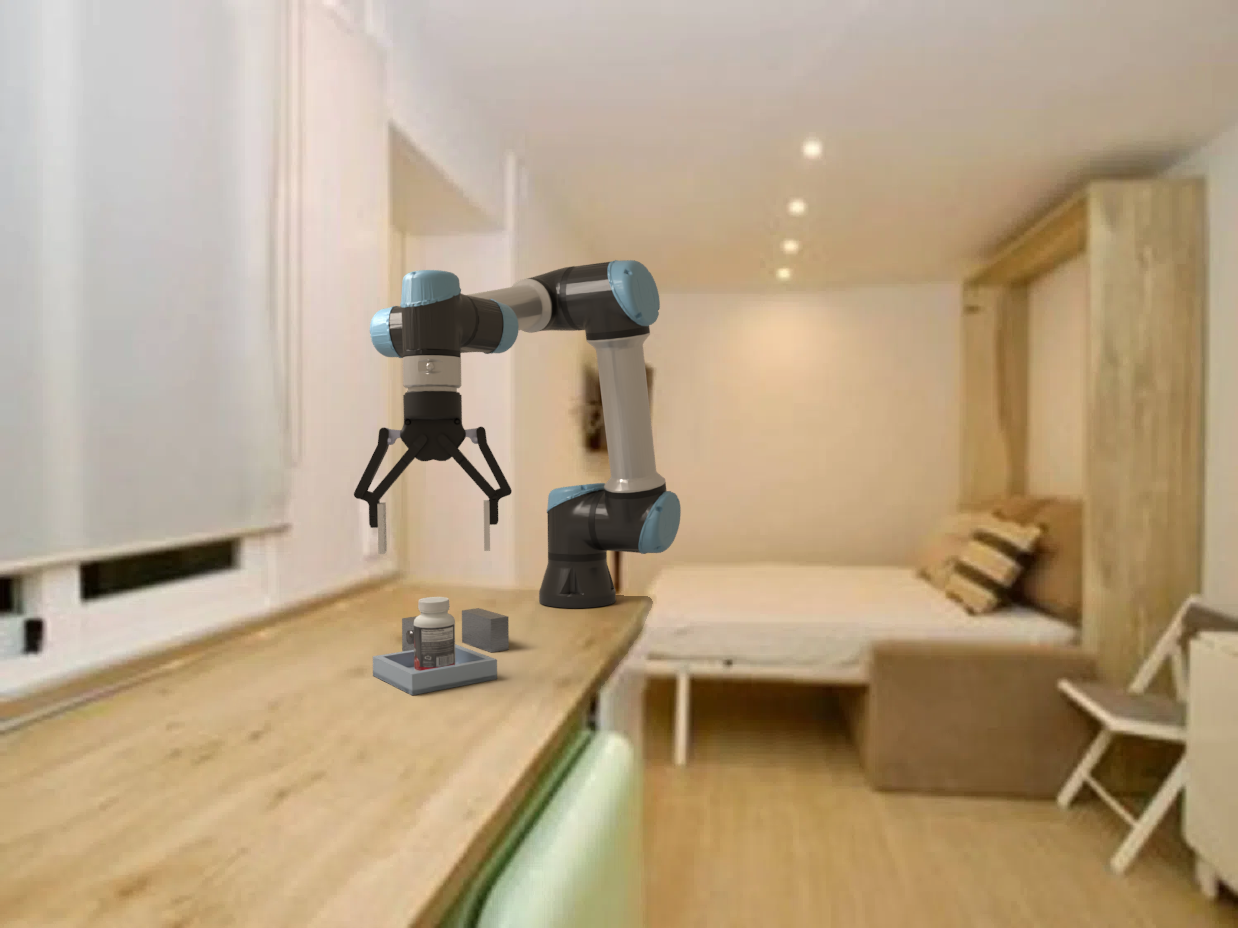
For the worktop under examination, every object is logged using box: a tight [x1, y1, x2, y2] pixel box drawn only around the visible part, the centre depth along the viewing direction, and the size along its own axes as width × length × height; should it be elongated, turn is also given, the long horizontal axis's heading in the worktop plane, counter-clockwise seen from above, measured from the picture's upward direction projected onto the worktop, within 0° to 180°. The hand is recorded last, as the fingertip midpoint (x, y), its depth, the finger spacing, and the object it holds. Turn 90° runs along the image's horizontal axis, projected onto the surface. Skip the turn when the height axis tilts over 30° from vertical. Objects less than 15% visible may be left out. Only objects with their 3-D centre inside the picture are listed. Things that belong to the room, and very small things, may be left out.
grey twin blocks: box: [401, 607, 510, 653], centre depth 130 cm, size 15×9×5 cm, turn 129°
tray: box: [372, 643, 498, 696], centre depth 115 cm, size 12×12×3 cm
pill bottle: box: [414, 596, 456, 671], centre depth 115 cm, size 5×5×10 cm
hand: (435, 551), depth 115 cm, fingers open, 13 cm apart
